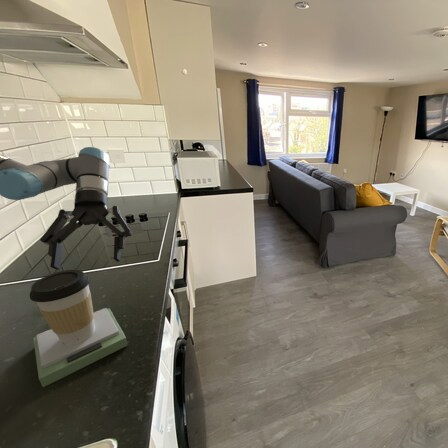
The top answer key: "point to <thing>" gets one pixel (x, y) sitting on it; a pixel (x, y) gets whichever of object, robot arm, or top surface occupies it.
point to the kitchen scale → (77, 348)
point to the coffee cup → (66, 305)
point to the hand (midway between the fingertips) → (87, 264)
